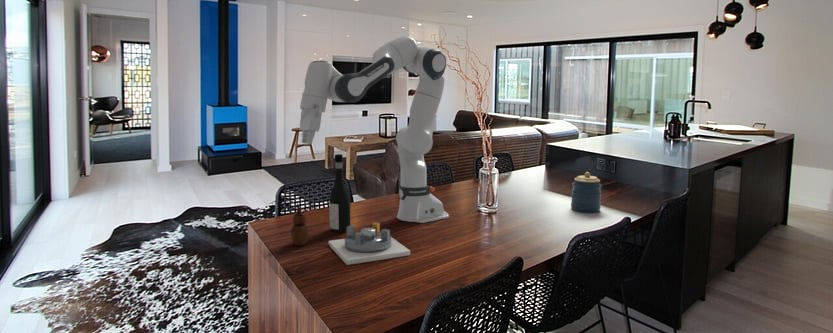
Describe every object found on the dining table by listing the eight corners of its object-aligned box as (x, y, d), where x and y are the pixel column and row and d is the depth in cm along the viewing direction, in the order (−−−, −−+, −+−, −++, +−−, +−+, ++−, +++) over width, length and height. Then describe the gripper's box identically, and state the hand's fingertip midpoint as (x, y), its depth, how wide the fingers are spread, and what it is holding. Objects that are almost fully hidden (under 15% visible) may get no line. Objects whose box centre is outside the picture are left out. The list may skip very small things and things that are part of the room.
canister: (569, 211, 224) (571, 173, 222) (571, 205, 236) (573, 168, 233) (599, 214, 220) (602, 175, 217) (600, 207, 231) (603, 170, 229)
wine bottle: (333, 234, 189) (331, 156, 184) (327, 229, 196) (325, 154, 191) (353, 231, 193) (352, 155, 188) (346, 226, 200) (345, 152, 195)
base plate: (386, 237, 186) (386, 233, 185) (410, 255, 166) (410, 250, 166) (328, 244, 176) (328, 240, 176) (347, 264, 157) (346, 260, 156)
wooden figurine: (293, 241, 180) (292, 201, 178) (309, 241, 181) (308, 201, 178) (290, 247, 173) (288, 205, 171) (307, 247, 174) (305, 205, 172)
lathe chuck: (381, 235, 181) (381, 220, 180) (398, 248, 167) (398, 231, 166) (339, 241, 175) (338, 225, 174) (353, 255, 160) (352, 237, 159)
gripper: (328, 105, 167) (321, 146, 167) (316, 108, 186) (310, 144, 186) (309, 101, 165) (302, 142, 165) (300, 104, 184) (293, 141, 184)
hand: (306, 143), depth 175 cm, fingers open, 8 cm apart
